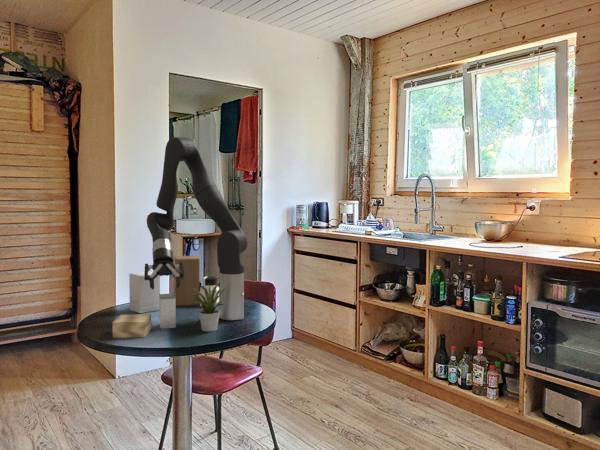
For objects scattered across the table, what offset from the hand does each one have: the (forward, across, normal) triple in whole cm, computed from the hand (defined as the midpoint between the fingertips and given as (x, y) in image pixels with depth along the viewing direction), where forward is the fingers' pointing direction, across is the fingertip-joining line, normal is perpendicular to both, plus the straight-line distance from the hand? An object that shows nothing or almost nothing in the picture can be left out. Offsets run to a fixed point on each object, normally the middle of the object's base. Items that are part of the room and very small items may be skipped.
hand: (165, 287), depth 171 cm
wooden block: (-11, +12, +29) cm, 33 cm away
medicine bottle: (-7, +20, +25) cm, 33 cm away
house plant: (+20, +14, -2) cm, 25 cm away
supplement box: (-5, -6, +23) cm, 25 cm away
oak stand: (+18, -12, 0) cm, 21 cm away
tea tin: (+14, 0, +4) cm, 14 cm away
